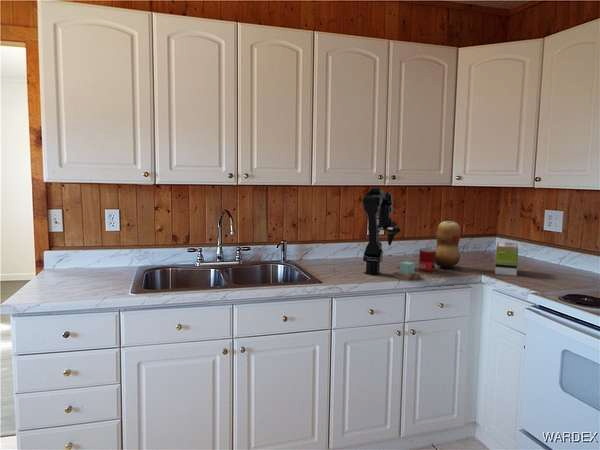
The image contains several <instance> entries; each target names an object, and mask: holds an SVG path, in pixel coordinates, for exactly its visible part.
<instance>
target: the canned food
mask: <svg viewBox="0 0 600 450" xmlns="http://www.w3.org/2000/svg"><path fill="white" fill-rule="evenodd" d="M435 256H436V250H435V248H429V247H426V248H425V247H423V248H419V256H418V257H419V259H418V263H419V264H418V269H419V270H420V271H421V272H429V273H430V272H435V270H436V263H435Z"/></svg>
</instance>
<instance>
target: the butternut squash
mask: <svg viewBox="0 0 600 450" xmlns="http://www.w3.org/2000/svg"><path fill="white" fill-rule="evenodd" d="M460 240H461V226H460V224H459V223H457V222H455V221H451V220H450V221H449V220H444V221H441V222H440V223H439V224H438V226H437V230H436V246H435V248H434V249H435V250H436V256H435V265H437V266H438V267H441V268H447V269H448V268H450V269H451V268H453V267H454V266H456V265H458V263H459V262H460V259H461V253H460V248H459V243H460Z"/></svg>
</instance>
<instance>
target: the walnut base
mask: <svg viewBox="0 0 600 450" xmlns="http://www.w3.org/2000/svg"><path fill="white" fill-rule="evenodd" d="M392 277H393V278H397V279H402V280H404V281H412V280H417V279H421V273H419V272H414V274H409V275H406V274H402V273H399V271H396V272H393V275H392Z"/></svg>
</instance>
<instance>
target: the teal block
mask: <svg viewBox="0 0 600 450" xmlns="http://www.w3.org/2000/svg"><path fill="white" fill-rule="evenodd" d="M415 265H416V264H415V263H414V262H410V261H402V262H399V271H398V272H399V273H402V274H406V275H409V274H414V272H415V271H416V270H415V267H416V266H415ZM415 273H416V272H415Z"/></svg>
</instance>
